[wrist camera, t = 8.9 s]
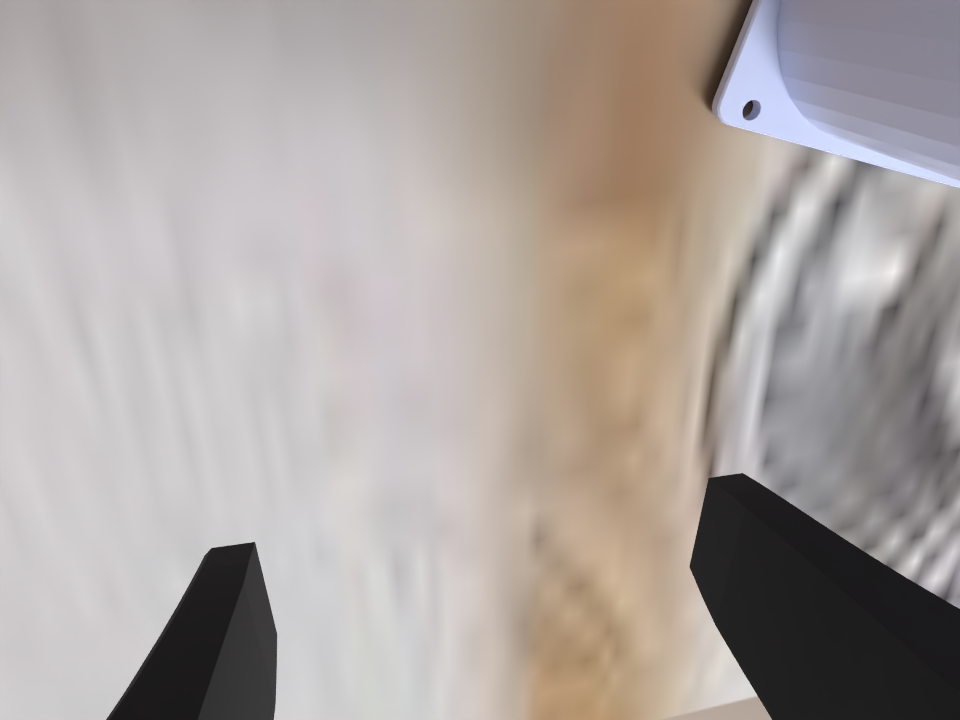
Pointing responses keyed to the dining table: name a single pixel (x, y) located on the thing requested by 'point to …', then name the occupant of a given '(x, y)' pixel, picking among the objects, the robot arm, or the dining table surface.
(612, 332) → the dining table surface
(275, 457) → the dining table surface
